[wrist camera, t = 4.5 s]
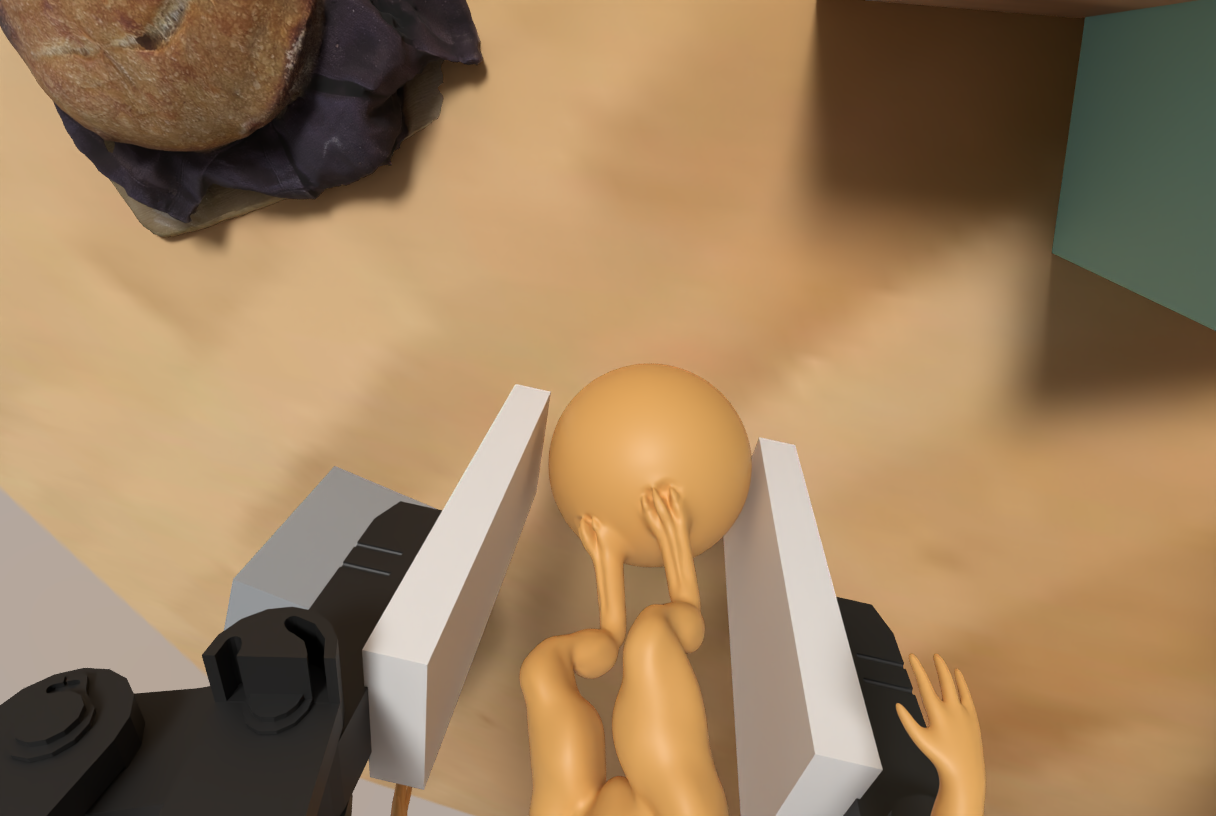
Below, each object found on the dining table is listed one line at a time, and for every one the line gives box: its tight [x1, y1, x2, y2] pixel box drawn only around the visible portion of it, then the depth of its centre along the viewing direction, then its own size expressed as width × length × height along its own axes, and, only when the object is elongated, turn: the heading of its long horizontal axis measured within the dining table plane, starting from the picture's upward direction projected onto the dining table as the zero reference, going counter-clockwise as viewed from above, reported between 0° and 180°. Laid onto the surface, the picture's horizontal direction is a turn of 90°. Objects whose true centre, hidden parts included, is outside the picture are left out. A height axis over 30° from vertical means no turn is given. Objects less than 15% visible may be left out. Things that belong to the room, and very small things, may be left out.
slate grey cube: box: [224, 466, 435, 631], centre depth 18 cm, size 5×5×5 cm
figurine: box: [391, 364, 986, 816], centre depth 8 cm, size 8×6×12 cm
